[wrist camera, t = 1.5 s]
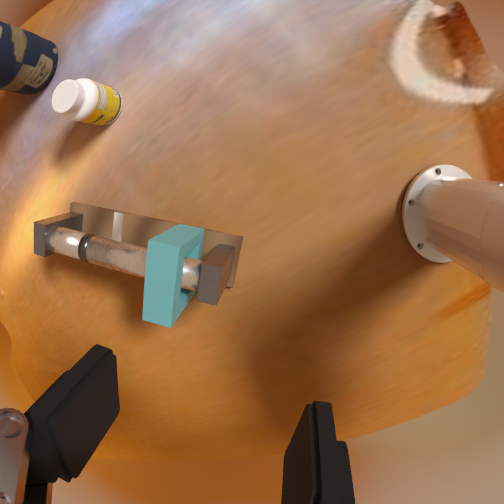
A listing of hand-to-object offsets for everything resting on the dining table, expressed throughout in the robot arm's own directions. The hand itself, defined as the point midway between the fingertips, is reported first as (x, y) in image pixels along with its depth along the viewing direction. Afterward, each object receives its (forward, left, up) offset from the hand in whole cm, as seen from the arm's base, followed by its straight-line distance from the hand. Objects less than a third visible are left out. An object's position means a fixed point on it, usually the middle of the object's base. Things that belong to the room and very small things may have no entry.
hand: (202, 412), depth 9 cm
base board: (+15, +4, -30) cm, 33 cm away
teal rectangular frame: (+8, +4, -26) cm, 28 cm away
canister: (+40, -20, -30) cm, 54 cm away
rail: (+15, +4, -30) cm, 33 cm away
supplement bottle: (+24, -13, -30) cm, 40 cm away
